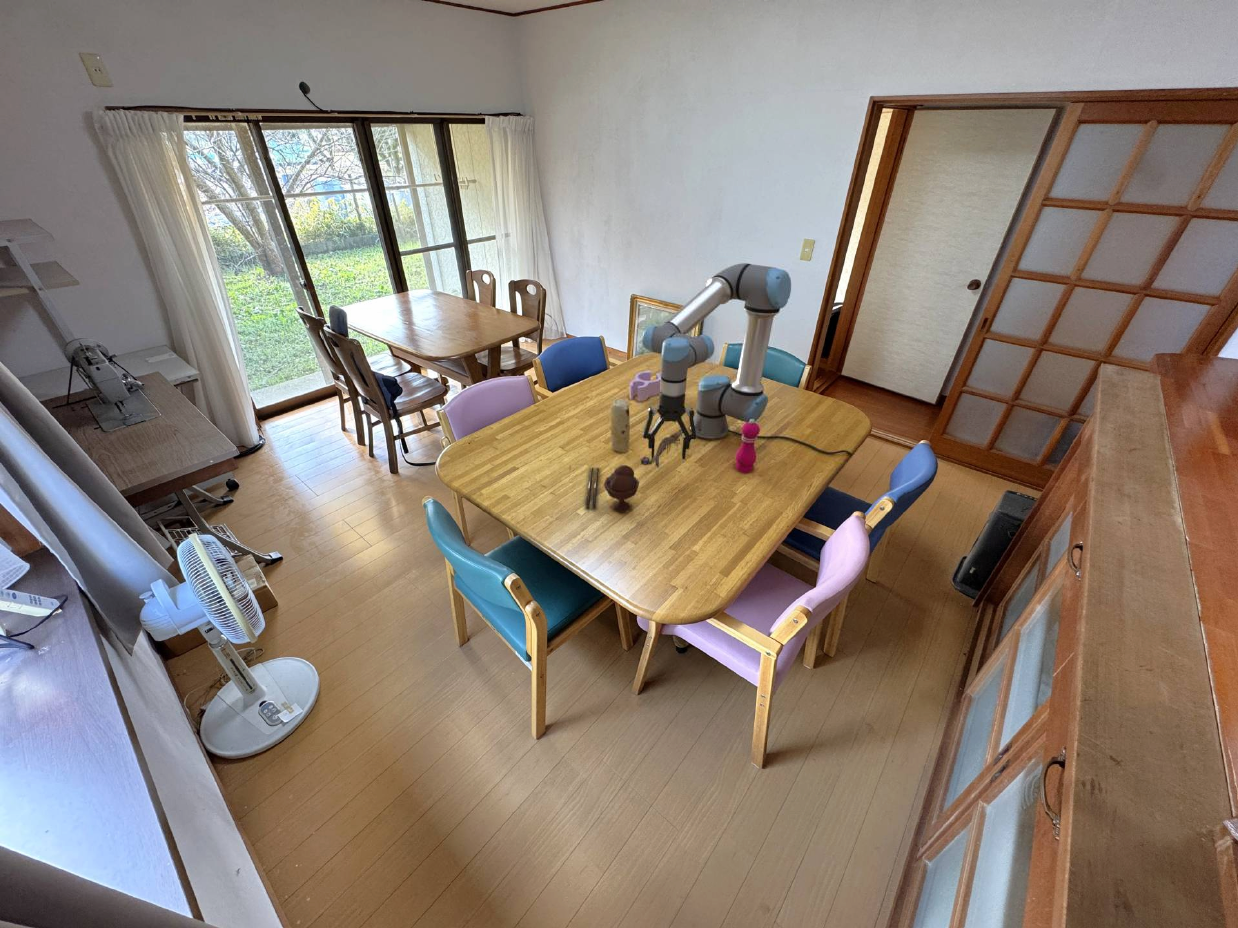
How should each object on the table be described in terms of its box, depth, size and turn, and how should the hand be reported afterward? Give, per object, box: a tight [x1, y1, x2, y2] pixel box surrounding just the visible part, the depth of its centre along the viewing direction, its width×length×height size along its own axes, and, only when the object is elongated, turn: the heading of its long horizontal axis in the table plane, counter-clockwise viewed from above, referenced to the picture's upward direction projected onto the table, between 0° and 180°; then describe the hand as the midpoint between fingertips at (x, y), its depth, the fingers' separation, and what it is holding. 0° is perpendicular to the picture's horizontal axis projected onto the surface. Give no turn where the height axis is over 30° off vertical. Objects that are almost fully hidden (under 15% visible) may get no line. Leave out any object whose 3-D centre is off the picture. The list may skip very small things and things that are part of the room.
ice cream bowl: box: [603, 464, 640, 513], centre depth 151 cm, size 11×11×15 cm
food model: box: [610, 397, 631, 453], centre depth 180 cm, size 10×7×20 cm
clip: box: [629, 369, 661, 402], centre depth 225 cm, size 20×12×7 cm, turn 148°
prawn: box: [640, 429, 684, 469], centre depth 151 cm, size 25×12×7 cm, turn 143°
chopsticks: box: [585, 467, 599, 510], centre depth 164 cm, size 3×23×1 cm, turn 179°
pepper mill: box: [734, 419, 761, 474], centre depth 168 cm, size 7×7×20 cm
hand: (668, 456), depth 153 cm, fingers closed on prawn, 9 cm apart
